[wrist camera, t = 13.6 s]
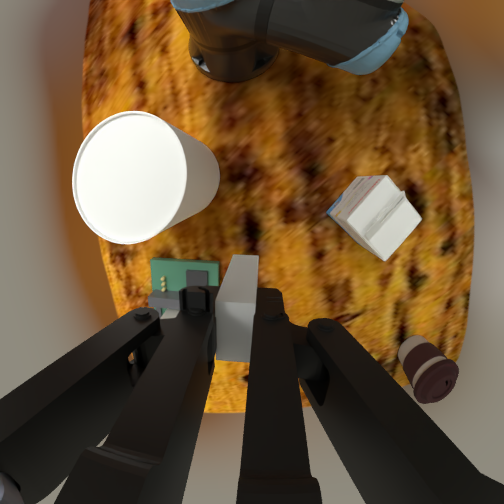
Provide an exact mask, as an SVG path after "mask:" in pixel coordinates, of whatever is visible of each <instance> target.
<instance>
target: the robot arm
mask: <svg viewBox="0 0 504 504" xmlns="http://www.w3.org/2000/svg"><path fill="white" fill-rule="evenodd" d="M403 2H404V0H171V4H172V5H173V7H174V8H175V9H176V11H177V13H178V14H179V16H180V18H181V19H182V21H183V23H184V24H185V26H186V28H187V29H188V31H189V33H190V39H189V53H190V56H191V59H192V60H193V62H194V64H195V65H196V67H197V68H198V69H199V70H200V71H201V72H202V73H203V74H205V75H206V76H208V77H210V78H212V79H215V80H218V81H224V82H240V81H245V80H249V79H252V78H254V77H256V76H258V75H260V74H262V73H263V72H265V71H266V70H267V69H268V68H269V67H270V66H271V65H272V64H273V63H274V61H275V59H276V57H277V55H278V51H279V47H280V48H283V49H286V50H290V51H293V52H296V53H299V54H302V55H305V56H308V57H311V58H313V59H316V60H319V61H321V62H324V63H326V64H327V65H328V66H330V67H333V68H339V69H342V70H345V71H347V72H350V73H352V74H355V75H363V74H365V75H366V74H369V73H372V72H374V71H375V70H377V69H378V68H379V67H381V66H382V65H383V64H384V63H385V62H386V61H387V60H388V59H389V58H390V56H391V55H392V54H393V53H394V51H395V50H396V49H397V47H398V46H399V44H400V42H401V40H400V39H401V37H402V36H403V35H404V34H405V32H406V29H407V26H408V16H407V13H406V12H405V11H404V10H403V8H401V5H402V4H403ZM258 261H259V256H253V255H234V254H233V257H232V259H231V262H230V264H229V267H228V269H227V272H226V274H225V277H224V279H223V282H222V284H221V286H210V285H206V286H187V287H184V288H182V289H180V290H179V304H180V311H179V313H178V314H177V316H176V317H175V318H167V319H160V317H159V312H158V311H157V310H155V309H152V308H147V307H144V308H143V307H140V308H137V309H134V310H132V311H129V312H128V313H126V314H125V315H123V316H122V317H120V318H119V319H117V320H116V321H114V322H113V323H111V324H110V325H108V326H107V327H105V328H104V329H102V330H101V331H99V332H98V333H96V334H95V335H93V336H92V337H90V338H89V339H87V340H86V341H84V342H83V343H81V344H80V345H78V346H77V347H75V348H74V349H72V350H71V351H69V352H68V353H67V354H65V355H64V356H62V357H61V358H59V359H58V360H56V361H55V362H53V363H52V364H50V365H49V366H47V367H46V368H44V369H43V370H41V371H40V372H39V373H37V374H36V375H34V376H33V377H31V378H30V379H28V380H27V381H26V382H24V383H23V384H21V385H20V386H18V387H17V388H16V389H14V390H13V391H11V392H10V393H9V394H7V395H6V396H4V397H3V398H1V399H0V504H36V503H38V502H39V501H41V500H42V499H44V498H45V497H46V496H48V495H49V494H50V493H51V492H52V491H53V490H55V489H56V488H57V487H58V486H59V484H61V482H63V480H64V479H65V478H66V477H67V476H68V475H69V476H68V478H67V480H66V482H65V484H64V485H63V487H62V489H61V491H60V493H59V495H58V497H57V499H56V501H55V502H54V504H182V499H183V496H184V491H185V487H186V483H187V479H188V474H189V470H190V466H191V462H192V457H193V453H194V449H195V445H196V441H197V437H198V433H199V428H200V424H201V420H202V416H203V412H204V408H205V404H206V400H207V396H208V392H209V388H210V384H211V380H212V375H213V371H214V367H215V364H214V356H215V353H216V360H224V361H237V362H250V366H249V378H248V389H247V401H246V412H245V424H244V434H243V446H242V457H241V468H240V476H239V481H238V490H237V501H236V504H322V497H321V491H320V486H319V483H318V480H317V479H316V478H314V477H312V475H311V472H310V464H309V456H308V448H307V440H306V432H305V425H304V417H303V411H302V402H301V395H300V388H299V383H300V385H301V387H302V389H303V391H304V393H305V395H306V396H307V398H308V400H309V402H310V404H311V406H312V408H313V410H314V411H315V413H316V415H317V417H318V419H319V421H320V422H321V424H322V426H323V428H324V430H325V432H326V434H327V435H328V437H329V439H330V441H331V442H332V444H333V446H334V448H335V450H336V451H337V454H338V455H339V457H340V459H341V461H342V462H343V464H344V466H345V468H346V470H347V471H348V473H349V475H350V477H351V479H352V480H353V482H354V484H355V486H356V487H357V489H358V491H359V493H360V494H361V496H362V498H363V500H364V501H365V503H366V504H504V485H503V484H501V483H499V482H497V481H495V480H493V479H491V478H489V477H487V476H485V475H484V474H481V473H480V472H479V471H478V470H477V468H476V467H475V466H474V465H473V464H472V463H471V462H470V461H469V460H468V459H467V457H466V456H465V455H464V454H463V453H462V452H461V451H460V450H459V449H458V448H457V447H456V445H455V444H454V443H453V442H452V441H451V440H450V439H449V438H448V437H447V436H446V434H445V433H444V432H443V431H442V430H441V429H440V428H439V427H438V426H437V425H436V424H435V423H434V421H433V420H431V418H430V417H429V416H428V415H427V414H426V413H425V412H424V411H423V410H422V409H421V407H420V406H419V405H418V404H417V403H416V402H415V401H414V400H413V399H412V398H411V397H410V396H409V395H408V394H407V393H406V392H405V390H404V389H403V388H402V387H401V386H400V385H399V384H398V383H397V382H396V381H395V380H394V379H393V378H392V377H391V376H390V375H389V374H388V372H387V371H386V370H385V369H384V368H383V367H382V366H381V365H380V364H379V363H378V362H377V361H376V360H375V359H374V358H373V357H372V356H371V355H370V354H369V353H368V352H367V351H366V349H365V348H364V347H363V346H362V345H361V344H360V343H359V342H358V341H357V340H356V339H355V338H354V337H353V336H352V335H351V334H350V333H349V332H348V331H347V330H346V329H345V328H344V327H343V326H342V325H341V324H340V323H339V322H337V321H334V320H332V319H329V318H328V319H327V318H318V319H314V320H312V321H310V322H309V324H308V328H307V327H302V326H298V325H295V324H292V323H291V322H289V317H288V315H287V314H286V313H285V310H284V304H283V297H282V293H281V292H280V291H279V290H278V289H275V288H257V280H258ZM131 353H133V357H134V359H133V360H132V361H130V362H129V360H128V357H129V355H130V354H131ZM298 378H299V381H298ZM108 434H109V435H108ZM107 435H108V437H107V439H106V441H105V442H104V444H103V445H102V446H101V447H96V446H97V445H98V444H99V443H100V442H101V441H102V440H103V439H104V438H105V437H106V436H107Z"/></svg>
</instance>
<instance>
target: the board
mask: <svg viewBox="0 0 504 504" xmlns="http://www.w3.org/2000/svg"><path fill="white" fill-rule="evenodd" d="M150 262H151V277H152V289H153V292H152V293H151V294H150V295H149V296H148V303H149V307H154V309H155V310H157V311H158V312H159V317H160V318H161V317H162V315H163V314H164V312H165V311H166V310H167V309H177V310H180V304H179V290H180V289H182V288H184V287H187V286H206V285H210V286H219V261H207V260H189V259H172V258H155V257H153V258H152V259H151V260H150Z"/></svg>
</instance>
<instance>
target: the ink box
mask: <svg viewBox="0 0 504 504" xmlns="http://www.w3.org/2000/svg"><path fill="white" fill-rule="evenodd" d="M326 213H327V214H328V215H329V216H330V217H331V218H332V219H333V220H334V221H335V222H336V223H337V224H338V225H340V226H341V227H342V228H343V229H344V230H345V231H346V232H347V233H348V234H349V235H350V236H351V237H352V238H353V239H354V240H355V241H356V242H357V243H358V244H359V245H361V246H362V247H364V248H365V249H367V250H368V251H370V252H371V253H373V254H374V255H376V256H377V257H379V258H380V259H382V260H383V261H386V260H387V259H388V258H389V257H390V256H391V255H392V254H393V252H394V251H395V250H396V249H397V248H398V247H399V246H400V245H401V243H402V242H403V241H404V240H405V239H406V238H407V237H408V235H409V234H410V233H411V232H412V231H413V230H414V228H415V227H416V226H417V225H418V224H419V222H420V221H421V220H422V218H421V217H420V215H419V214H418V213H417V211H416V210H415V209H414V207H413V206H412V205H411V204H410V202H409V201H408V200H407V198H406V196H405V192H404V191H402V192H401V191H400V190H399V189H398V187H397V186H396V185H395V184H394V183H393V181H392V180H391V179H390V178H389V177H388V175H379V176H358V177H356V179H355V180H354V181H353V182H352V183H351V184H350V185H349V187H348V188H347V189H346V190H345V191H344V192H343V193H342V195H341V196H340V197H339V198H338V199H337V200H336V201H335V203H334V204H333V205H332V206H331V207H330V208H329V209H328V211H327V212H326Z"/></svg>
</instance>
